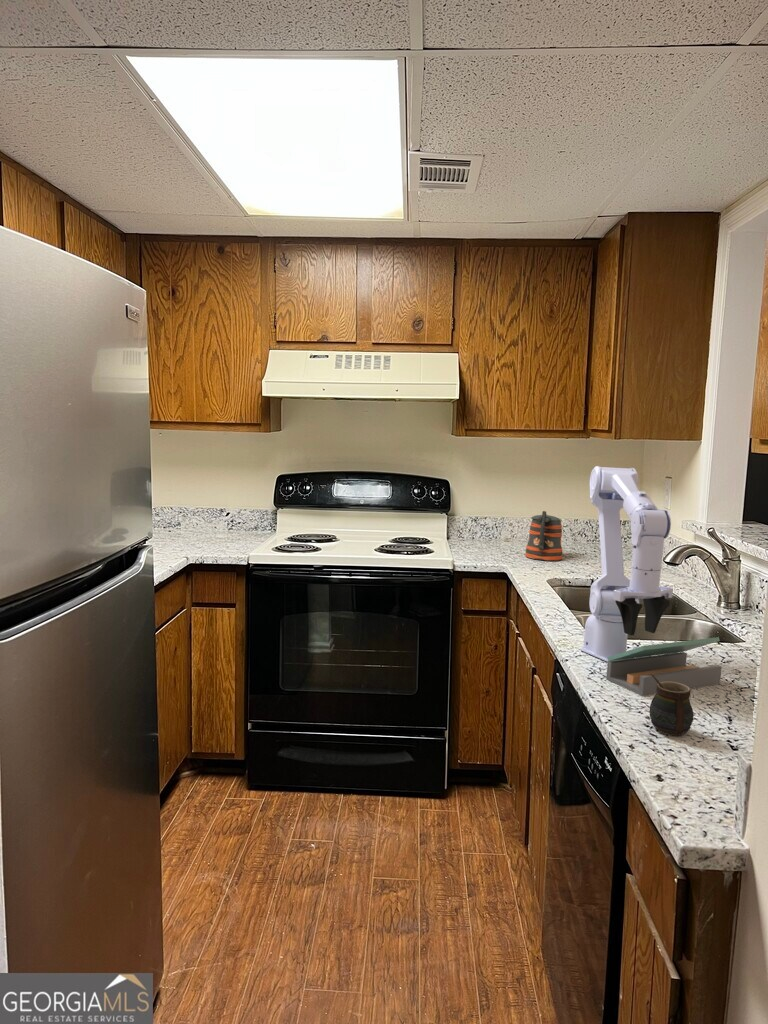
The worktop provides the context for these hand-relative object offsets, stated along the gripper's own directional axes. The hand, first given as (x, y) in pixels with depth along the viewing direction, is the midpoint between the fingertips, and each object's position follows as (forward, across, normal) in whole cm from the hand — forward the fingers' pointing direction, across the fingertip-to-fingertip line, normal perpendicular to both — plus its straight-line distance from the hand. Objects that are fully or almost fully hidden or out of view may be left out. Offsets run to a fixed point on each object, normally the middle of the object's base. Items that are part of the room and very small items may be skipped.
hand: (639, 632), depth 151 cm
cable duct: (+10, +6, -2) cm, 12 cm away
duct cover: (+4, +6, -1) cm, 7 cm away
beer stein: (+11, +72, +121) cm, 141 cm away
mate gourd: (+11, -13, -21) cm, 27 cm away
